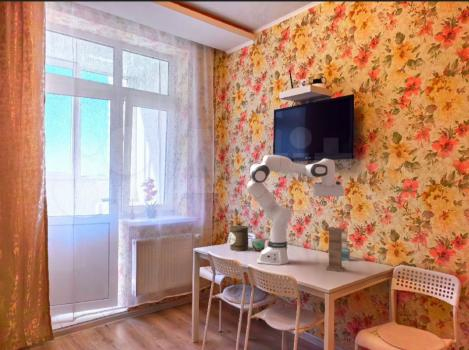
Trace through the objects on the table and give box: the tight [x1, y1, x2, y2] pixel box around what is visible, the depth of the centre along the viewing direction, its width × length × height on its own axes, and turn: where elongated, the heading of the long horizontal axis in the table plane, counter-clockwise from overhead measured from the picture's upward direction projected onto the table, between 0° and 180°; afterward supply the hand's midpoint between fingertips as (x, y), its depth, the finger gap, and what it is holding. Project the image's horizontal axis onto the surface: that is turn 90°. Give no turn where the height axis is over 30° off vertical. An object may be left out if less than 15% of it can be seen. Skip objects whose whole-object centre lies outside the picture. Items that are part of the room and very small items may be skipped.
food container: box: [250, 238, 267, 253], centre depth 261 cm, size 12×6×10 cm, turn 105°
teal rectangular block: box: [342, 230, 351, 262], centre depth 235 cm, size 20×7×7 cm
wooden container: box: [229, 221, 249, 252], centre depth 269 cm, size 15×15×22 cm
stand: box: [325, 226, 346, 273], centre depth 209 cm, size 7×10×26 cm
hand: (328, 202), depth 224 cm, fingers open, 8 cm apart
